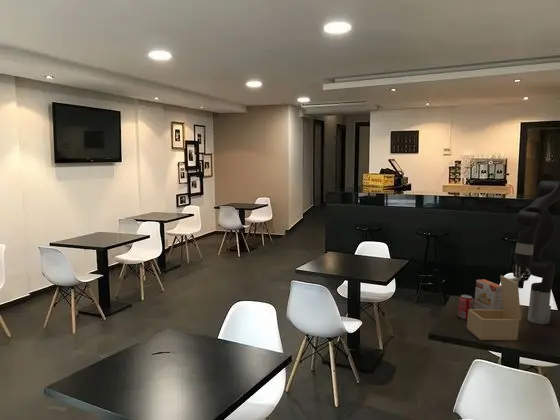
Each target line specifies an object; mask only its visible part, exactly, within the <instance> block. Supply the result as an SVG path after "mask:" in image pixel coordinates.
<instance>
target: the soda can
mask: <svg viewBox="0 0 560 420" xmlns="http://www.w3.org/2000/svg"><path fill="white" fill-rule="evenodd" d="M457 307H458V308H457V309H458V310H457V315H458V317H459V318H460V319H461V320H467V319H468V309H474V299H473V296H472V295H469V294H461V295H460V297H459V301H458V306H457Z"/></svg>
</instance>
